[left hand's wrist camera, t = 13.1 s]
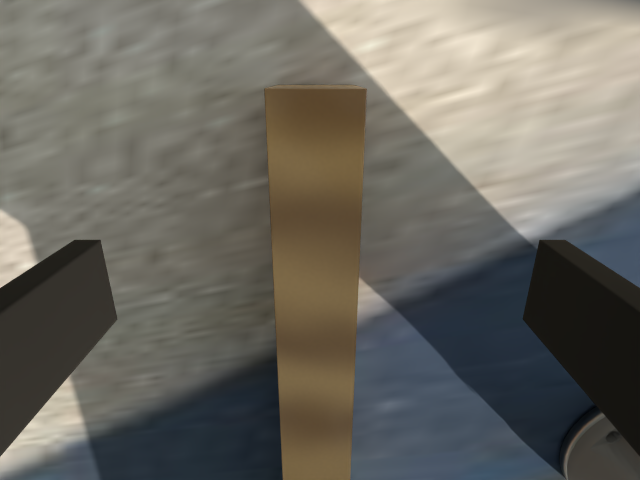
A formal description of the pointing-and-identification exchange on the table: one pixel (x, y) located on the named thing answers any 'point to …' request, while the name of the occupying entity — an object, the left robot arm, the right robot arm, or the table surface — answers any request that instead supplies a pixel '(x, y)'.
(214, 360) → the table surface
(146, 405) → the table surface
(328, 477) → the beam
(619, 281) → the left robot arm
